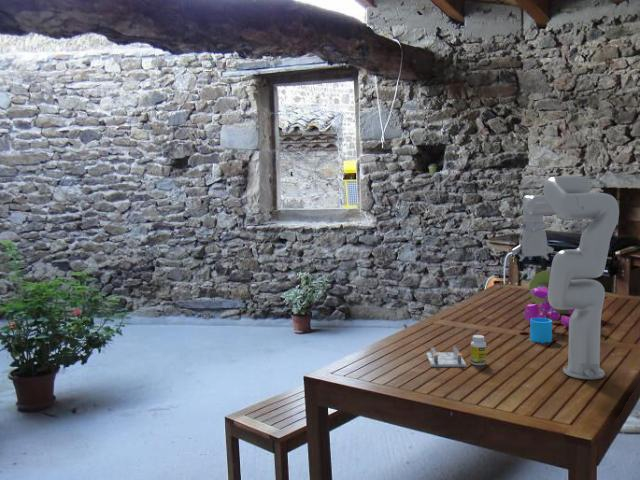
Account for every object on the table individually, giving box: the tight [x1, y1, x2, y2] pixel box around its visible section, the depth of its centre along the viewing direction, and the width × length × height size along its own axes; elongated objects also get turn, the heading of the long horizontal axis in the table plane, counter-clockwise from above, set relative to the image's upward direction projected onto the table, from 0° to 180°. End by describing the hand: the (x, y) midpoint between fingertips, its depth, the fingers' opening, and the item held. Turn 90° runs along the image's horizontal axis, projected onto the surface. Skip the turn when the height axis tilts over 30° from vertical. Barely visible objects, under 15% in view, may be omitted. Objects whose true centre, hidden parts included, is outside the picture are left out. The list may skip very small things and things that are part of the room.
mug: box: [529, 317, 553, 344], centre depth 240 cm, size 12×8×8 cm
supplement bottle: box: [469, 334, 487, 366], centre depth 211 cm, size 5×5×10 cm
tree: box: [523, 269, 577, 329], centre depth 266 cm, size 30×28×35 cm
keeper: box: [426, 346, 467, 368], centre depth 215 cm, size 14×12×4 cm
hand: (532, 270), depth 235 cm, fingers open, 9 cm apart
